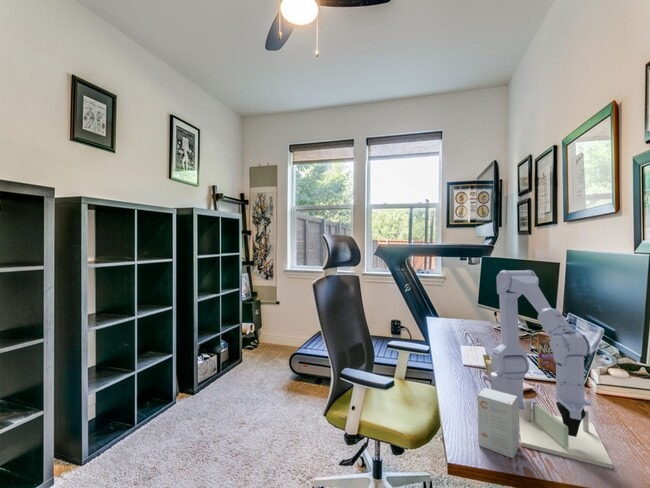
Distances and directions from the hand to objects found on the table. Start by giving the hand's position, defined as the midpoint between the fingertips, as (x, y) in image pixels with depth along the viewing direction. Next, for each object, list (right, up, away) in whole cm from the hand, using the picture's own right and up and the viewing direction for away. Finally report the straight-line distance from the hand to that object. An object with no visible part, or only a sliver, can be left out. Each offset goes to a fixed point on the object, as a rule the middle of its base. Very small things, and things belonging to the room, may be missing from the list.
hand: (570, 435), depth 81 cm
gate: (-2, -2, +5) cm, 5 cm away
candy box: (+31, -4, +51) cm, 59 cm away
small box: (-18, -4, +1) cm, 18 cm away
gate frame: (+1, -4, +5) cm, 7 cm away
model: (+3, -5, +47) cm, 47 cm away
